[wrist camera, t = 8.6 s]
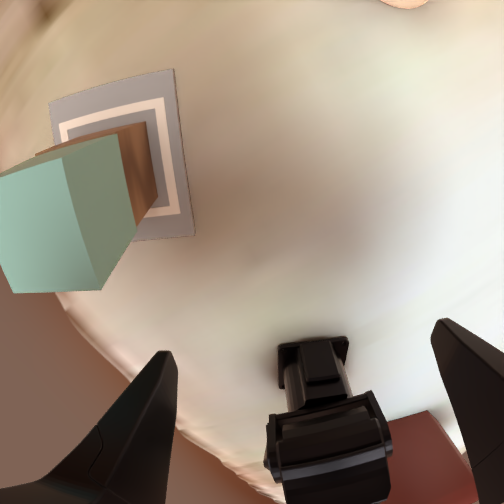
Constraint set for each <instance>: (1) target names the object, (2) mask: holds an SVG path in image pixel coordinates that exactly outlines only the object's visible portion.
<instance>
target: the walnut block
mask: <svg viewBox="0 0 504 504" xmlns="http://www.w3.org/2000/svg"><path fill="white" fill-rule="evenodd" d="M113 134H117V135H118V141H119V147H120V153H121V158H122V164H123V169H124V174H125V179H126V184H127V189H128V193H129V198H130V202H131V207H132V211H133V215H134V219H135V224H136V227H137V226H138V225H139V223H140V222H141V220H142V219H143V217H144V216H145V214H146V213H147V212H148V210H149V209H150V207H151V206H152V205H153V203H154V202H155V200H156V199H157V198H158V193H157V188H156V182H155V176H154V171H153V165H152V159H151V152H150V146H149V139H148V132H147V125H146V121H144V122H139V123H134V124H129V125H124V126H120V127H115V128H111V129H107V130H103V131H99V132H95V133H91V134H87V135H83V136H80V137H76V138H74V139H71V140H68V141H66V142H63V143H61V144H58V145H56V146H53V147H51V148H48V149H46V150H44V151H41V152H39V153H37V154H35V156H38V155H41V154H44V153H47V152H50V151H53V150H57V149H60V148H63V147H67V146H70V145H74V144H77V143H81V142H85V141H88V140H92V139H96V138H100V137H104V136H108V135H113Z"/></svg>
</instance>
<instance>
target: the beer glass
mask: <svg viewBox="0 0 504 504" xmlns="http://www.w3.org/2000/svg"><path fill="white" fill-rule="evenodd" d="M380 1H382V2H384V3H386V4H388V5H391V6H394V7H397V8H404V9H411V8H416V7H419V6H421V5H423V4H424V3H426V2H427V1H429V0H380Z"/></svg>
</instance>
